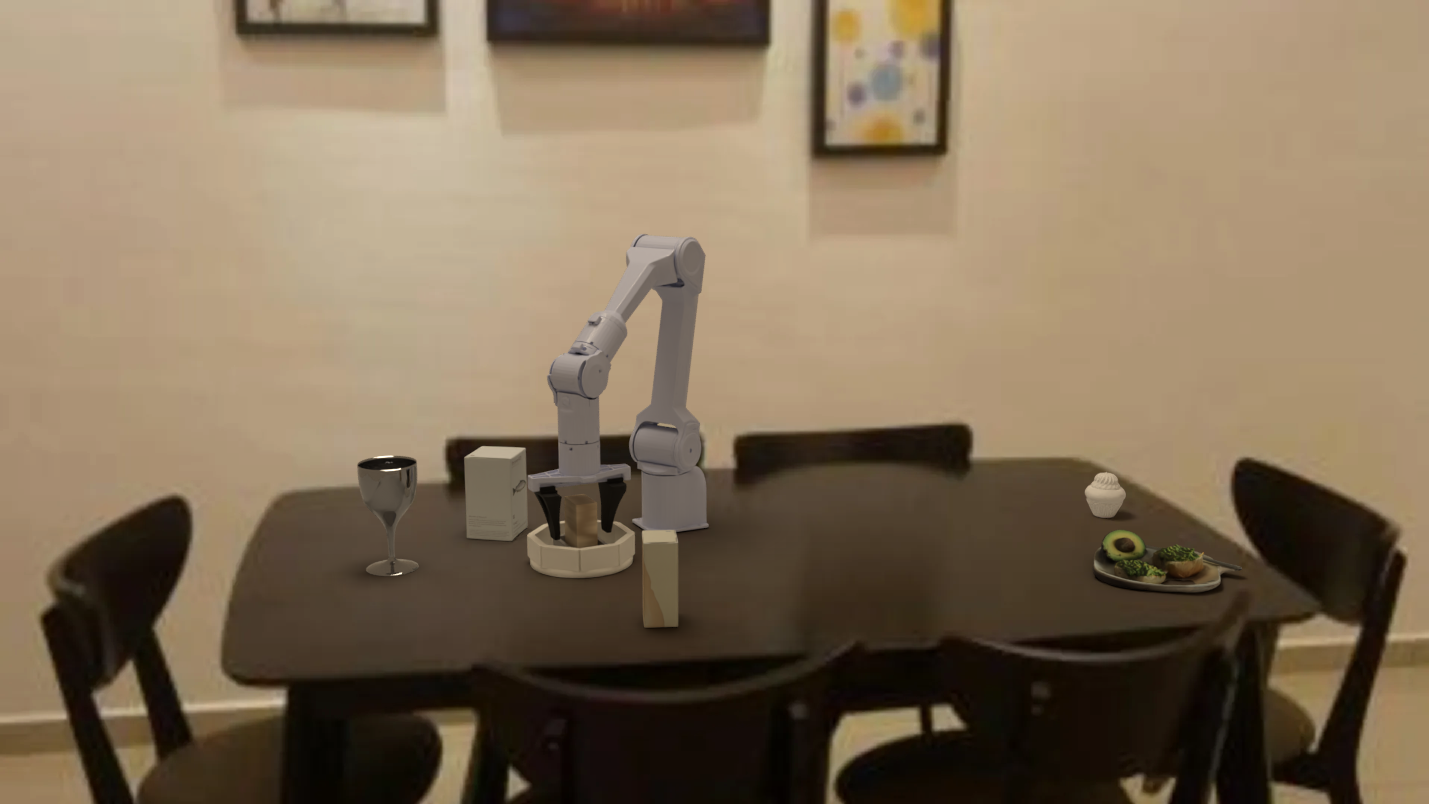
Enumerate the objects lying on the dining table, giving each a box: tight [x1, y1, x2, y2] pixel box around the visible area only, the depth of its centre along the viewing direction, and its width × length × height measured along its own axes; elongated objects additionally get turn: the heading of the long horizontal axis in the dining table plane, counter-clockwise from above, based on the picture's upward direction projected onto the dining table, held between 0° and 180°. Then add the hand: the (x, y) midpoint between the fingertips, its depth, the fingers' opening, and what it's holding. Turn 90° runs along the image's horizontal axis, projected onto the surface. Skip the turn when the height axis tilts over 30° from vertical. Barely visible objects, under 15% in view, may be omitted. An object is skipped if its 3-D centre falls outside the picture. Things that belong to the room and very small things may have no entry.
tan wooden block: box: [563, 493, 598, 548], centre depth 192 cm, size 3×5×8 cm, turn 26°
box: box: [641, 530, 679, 629], centre depth 169 cm, size 5×4×11 cm
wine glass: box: [356, 455, 420, 577], centre depth 189 cm, size 8×8×15 cm
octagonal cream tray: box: [526, 519, 636, 579], centre depth 193 cm, size 14×14×4 cm
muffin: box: [1084, 471, 1127, 519], centre depth 215 cm, size 6×6×7 cm
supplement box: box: [463, 445, 529, 542], centre depth 205 cm, size 7×7×13 cm
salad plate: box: [1091, 529, 1243, 593], centre depth 188 cm, size 19×18×5 cm
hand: (581, 534), depth 192 cm, fingers open, 7 cm apart
